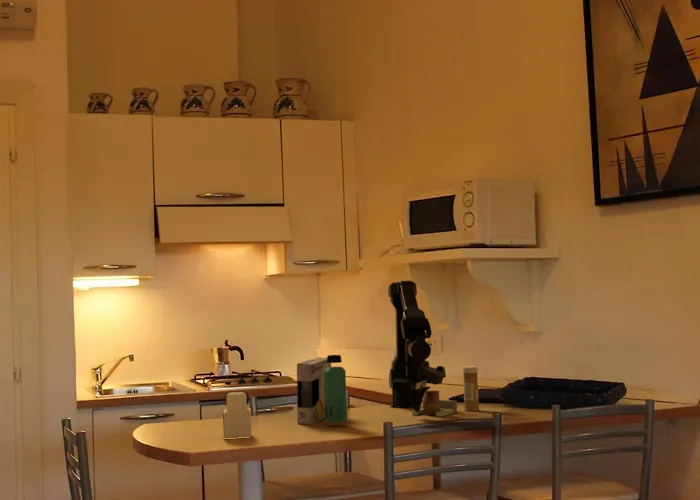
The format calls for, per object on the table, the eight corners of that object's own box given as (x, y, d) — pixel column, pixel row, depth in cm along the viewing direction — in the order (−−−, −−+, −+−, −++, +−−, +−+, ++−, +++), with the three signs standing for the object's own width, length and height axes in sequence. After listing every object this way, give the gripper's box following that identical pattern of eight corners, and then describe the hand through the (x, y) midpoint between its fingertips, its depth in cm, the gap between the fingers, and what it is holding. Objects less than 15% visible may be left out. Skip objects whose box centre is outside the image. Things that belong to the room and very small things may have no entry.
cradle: (411, 414, 287) (411, 410, 287) (424, 411, 294) (424, 407, 294) (441, 416, 282) (440, 412, 282) (453, 413, 289) (453, 409, 289)
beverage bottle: (351, 424, 272) (349, 353, 272) (343, 428, 266) (341, 355, 266) (329, 424, 274) (327, 353, 275) (321, 427, 268) (319, 355, 268)
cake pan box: (311, 425, 274) (309, 362, 274) (294, 424, 275) (293, 362, 276) (333, 415, 292) (332, 357, 292) (318, 415, 293) (316, 357, 294)
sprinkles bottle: (482, 410, 294) (480, 366, 294) (470, 411, 291) (469, 367, 292) (472, 409, 297) (470, 365, 298) (461, 410, 295) (459, 366, 295)
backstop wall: (422, 411, 295) (422, 399, 295) (425, 410, 297) (424, 399, 297) (455, 413, 289) (454, 401, 289) (457, 412, 291) (456, 400, 291)
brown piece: (420, 415, 286) (420, 392, 287) (428, 413, 290) (427, 390, 291) (435, 416, 284) (434, 392, 284) (442, 414, 288) (441, 390, 288)
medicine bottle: (224, 435, 259) (223, 390, 259) (251, 434, 259) (250, 389, 260) (223, 440, 252) (222, 393, 252) (251, 438, 252) (250, 392, 253)
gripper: (424, 361, 268) (426, 417, 268) (454, 355, 284) (456, 409, 284) (390, 360, 275) (391, 415, 274) (421, 355, 290) (423, 407, 290)
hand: (417, 411), depth 280 cm, fingers closed
